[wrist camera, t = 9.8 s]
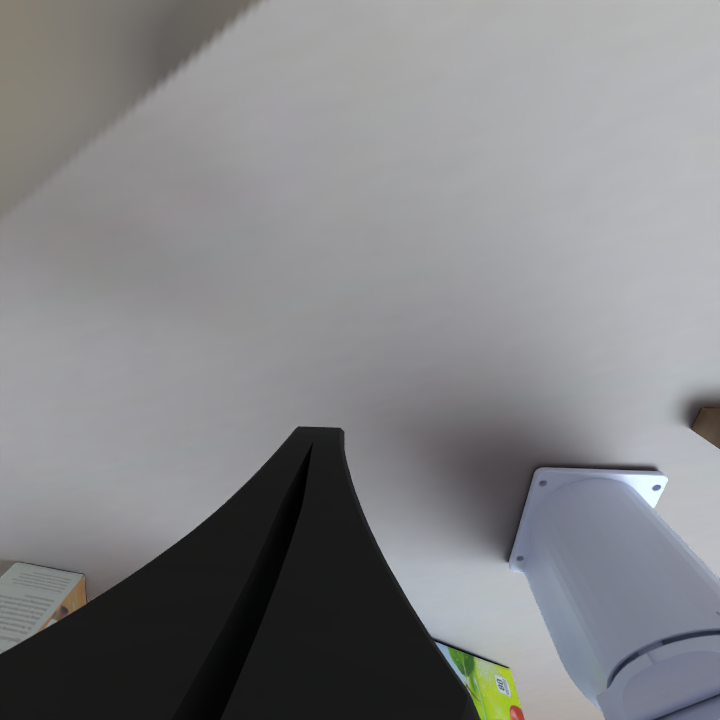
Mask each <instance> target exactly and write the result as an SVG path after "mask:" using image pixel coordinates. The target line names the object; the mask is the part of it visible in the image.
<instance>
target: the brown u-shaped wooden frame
mask: <svg viewBox="0 0 720 720" xmlns="http://www.w3.org/2000/svg"><path fill="white" fill-rule="evenodd" d="M691 430H693V431H694V432H696V433H697V434H699V435H700V436H701V437H703V438H704V439H706V440H707V441H709V442H710V443H712V444H713V445H715V446H716V447H718V448H719V449H720V408H701V410H700V412H699V414H698V416H697V418H696V420H695V423H694V425H693V427H692V429H691Z"/></svg>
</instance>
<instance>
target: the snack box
mask: <svg viewBox="0 0 720 720" xmlns="http://www.w3.org/2000/svg"><path fill="white" fill-rule="evenodd" d="M434 642H435V641H434ZM435 643H436V645H437V646H438V648H439V649H440V651H441V652H442V653H443V655H444V656H445V658H446V659H447V661H448V662H449V664H450V665H451V667H452V668H453V669H454V671H455V672H456V674H457V675H458V676H459V678H460V679H461V681H462V682H463V684H464V685H465V686H466V688H467V689H468V691H469V693H470V695H471V697H472V699H473V702H474V704H475V706H476V709H477V711H478V714H479V716H480V719H481V720H525V719H524V716H523V713H522V709H521V706H520V702H519V699H518V695H517V692H516V688H515V685H514V681H513V678H512V674H511V671H510V668H505V667H502V666H499V665H497V664H494V663H491V662H488V661H485V660H482V659H480V658H477V657H474V656H472V655H469V654H466V653H464V652H461V651H458V650H456V649H453V648H450V647H448V646H445V645H442V644H440V643H437V642H435Z"/></svg>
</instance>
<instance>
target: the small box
mask: <svg viewBox="0 0 720 720" xmlns="http://www.w3.org/2000/svg"><path fill="white" fill-rule="evenodd" d="M85 604H87V601H86V591H85V575H83V574H78V573H73V572H67V571H62V570H56V569H51V568H47V567H42V566H37V565H32V564H26V563H20V562H16V563H14V564H13V565H12V566H11V567H10V568H9V569H8V570H7V571H6V572H5V573H4V574H3V575H2V576H1V577H0V654H1V653H3V652H5V651H6V650H8V649H10V648H12V647H14V646H15V645H17V644H19V643H21V642H22V641H24V640H26V639H28V638H29V637H31V636H33V635H35V634H36V633H38V632H40V631H42V630H43V629H45V628H47V627H49V626H50V625H52V624H54V623H56V622H57V621H59V620H61V619H62V618H64V617H66V616H67V615H69V614H71V613H72V612H74V611H76V610H77V609H79V608H81V607H82V606H84V605H85Z"/></svg>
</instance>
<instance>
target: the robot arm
mask: <svg viewBox="0 0 720 720" xmlns="http://www.w3.org/2000/svg"><path fill="white" fill-rule="evenodd" d="M543 480H544V481H543ZM667 480H668V478H667V476H666V475H664V474H663V473H662V472H659V471H635V470H606V469H577V468H548V467H543V468H539V469H537V470H536V471H535V473H534V476H533V479H532V483H531V486H530V490H529V493H528V497H527V500H526V504H525V507H524V511H523V514H522V518H521V521H520V525H519V528H518V532H517V535H516V539H515V542H514V546H513V549H512V553H511V556H510V560H509V567H510V569H511V570H512V571H514V572H524V573H525V576H526V578H527V580H528V583H529V585H530V587H531V590H532V592H533V595H534V597H535V599H536V602H537V604H538V607H539V609H540V611H541V614H542V616H543V619H544V621H545V623H546V626H547V628H548V631H549V633H550V635H551V638H552V640H553V643H554V645H555V647H556V650H557V652H558V654H559V657H560V659H561V661H562V663H563V665H564V667H565V669H566V671H567V673H568V674H569V676H570V678H571V679H572V681H573V682H574V683H575V685H576V686H577V687H578V688H579V690H580V691H581V692H582V693H583V694H584V695H585V696H586V698H587V699H588V700H589V701H590V702H591V703H592V704H593V705H594V706H595V707H597V708H598V709H599V710H600V711H601V712H602V713H603V715H604V717H605V720H720V578H719V577H718V576H717V575H716V574H715V573H714V572H713V571H712V570H711V569H710V568H709V567H708V566H707V565H706V564H705V563H704V561H703V560H702V559H701V558H700V557H699V556H698V555H697V554H696V553H695V552H694V551H693V550H692V549H691V548H690V547H689V546H688V545H687V543H686V542H685V541H684V540H683V539H682V538H681V537H680V536H679V535H678V534H677V533H676V532H675V531H674V530H673V529H672V528H671V527H670V525H669V524H668V523H667V522H666V521H665V520H664V519H663V518H662V517H661V516H660V515H659V514H658V513H657V512H656V511H655V510H654V507H655V505H656V503H657V501H658V499H659V497H660V495H661V493H662V491H663V489H664V487H665V485H666V483H667ZM540 481H542V482H540ZM0 720H481V719H480V716H479V714H478V711H477V709H476V706H475V704H474V702H473V699H472V697H471V695H470V693H469V691H468V689H467V688H466V686H465V685H464V684H463V682H462V681H461V679H460V678H459V676H458V675H457V674H456V672H455V671H454V669H453V668H452V667H451V665H450V664H449V662H448V661H447V659H446V658H445V656H444V655H443V653H442V652H441V651H440V649H439V648H438V646H437V645H436V643H435V642H434V640H433V639H432V637H431V636H430V634H429V633H428V631H427V629H426V628H425V626H424V625H423V623H422V622H421V620H420V618H419V617H418V615H417V614H416V612H415V610H414V609H413V607H412V606H411V604H410V602H409V601H408V599H407V597H406V595H405V594H404V592H403V590H402V588H401V587H400V585H399V583H398V581H397V580H396V578H395V576H394V574H393V573H392V571H391V569H390V567H389V566H388V564H387V562H386V560H385V558H384V556H383V554H382V552H381V550H380V548H379V546H378V544H377V542H376V540H375V538H374V536H373V534H372V531H371V529H370V527H369V525H368V523H367V520H366V518H365V515H364V513H363V510H362V508H361V505H360V503H359V500H358V497H357V495H356V492H355V489H354V486H353V482H352V479H351V476H350V472H349V469H348V465H347V460H346V455H345V450H344V431H343V430H342V429H341V428H329V427H297V428H296V429H295V430H294V431H293V432H292V434H291V435H290V436H289V437H288V438H287V440H286V441H285V442H284V443H283V444H282V445H281V447H280V448H279V449H278V450H277V451H276V452H275V453H274V454H273V456H272V457H271V458H270V459H269V460H268V461H267V462H266V463H265V464H264V465H263V466H262V467H261V468H260V470H259V471H258V472H257V473H256V474H255V475H254V476H253V477H252V478H251V479H250V480H249V481H248V482H247V483H246V484H245V485H244V486H243V487H242V488H241V489H239V490H238V491H237V492H236V493H235V494H234V495H233V496H232V497H231V498H230V499H229V500H228V501H227V502H226V503H225V504H224V505H222V506H221V507H220V508H219V509H218V510H217V511H216V512H214V513H213V514H212V515H211V516H210V517H209V518H207V519H206V520H205V521H204V522H203V523H201V524H200V525H199V526H198V527H196V528H195V529H194V530H193V531H192V532H190V533H189V534H188V535H186V536H185V537H184V538H182V539H181V540H180V541H178V542H177V543H176V544H174V545H173V546H172V547H170V548H169V549H167V550H166V551H165V552H163V553H162V554H161V555H159V556H158V557H156V558H155V559H154V560H152V561H151V562H150V563H148V564H147V565H145V566H144V567H143V568H141V569H140V570H138V571H137V572H135V573H134V574H132V575H131V576H129V577H128V578H126V579H125V580H123V581H122V582H120V583H119V584H117V585H116V586H114V587H113V588H111V589H109V590H108V591H106V592H105V593H103V594H101V595H100V596H98V597H97V598H95V599H93V600H92V601H90V602H89V603H87V604H85V605H84V606H82V607H81V608H79V609H77V610H76V611H74V612H72V613H71V614H69V615H67V616H66V617H64V618H62V619H61V620H59V621H57V622H56V623H54V624H52V625H50V626H49V627H47V628H45V629H43V630H42V631H40V632H38V633H36V634H35V635H33V636H31V637H29V638H28V639H26V640H24V641H22V642H21V643H19V644H17V645H15V646H14V647H12V648H10V649H8V650H6V651H5V652H3V653H1V654H0Z"/></svg>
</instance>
